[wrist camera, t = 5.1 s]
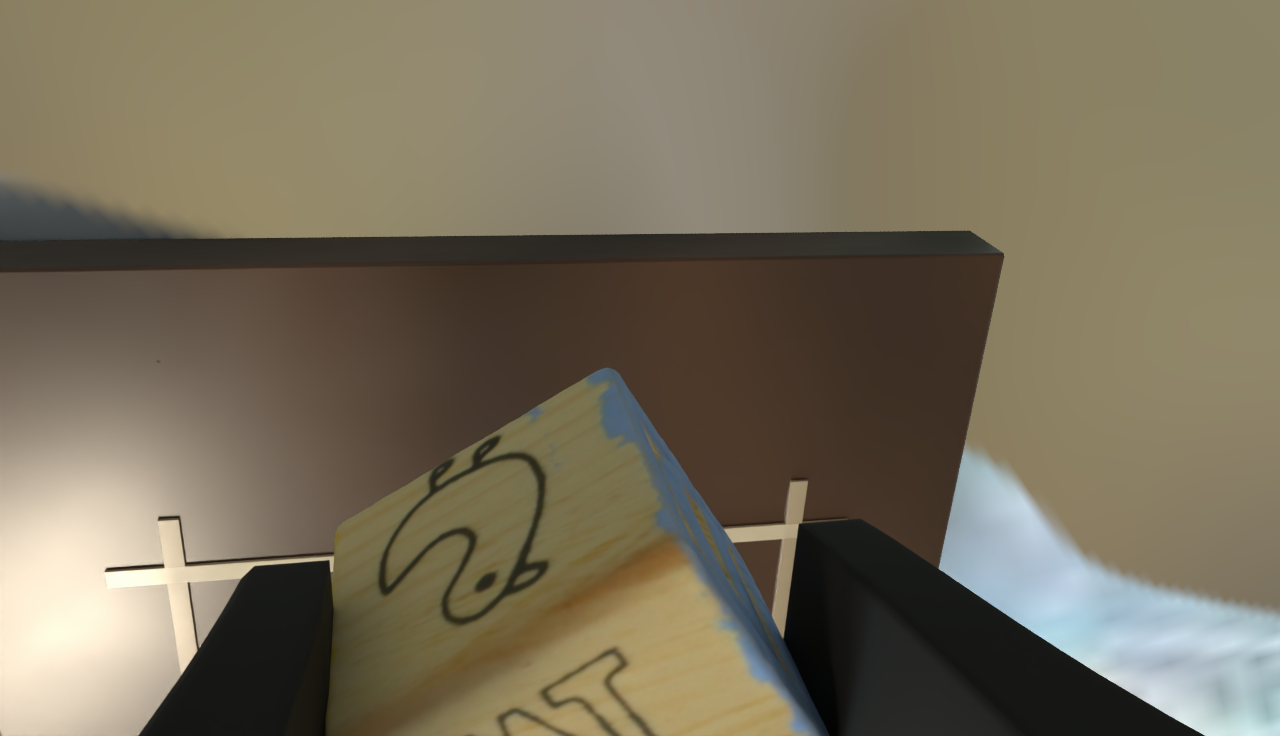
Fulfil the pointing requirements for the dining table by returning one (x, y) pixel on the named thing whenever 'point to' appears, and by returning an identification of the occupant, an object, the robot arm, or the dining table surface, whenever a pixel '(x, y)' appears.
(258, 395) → the board
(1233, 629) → the dining table surface
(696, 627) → the alphabet block
